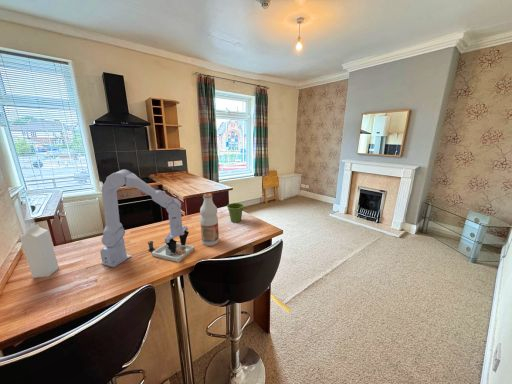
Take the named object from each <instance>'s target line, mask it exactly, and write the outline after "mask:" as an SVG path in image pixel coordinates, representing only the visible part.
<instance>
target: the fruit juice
mask: <svg viewBox="0 0 512 384" xmlns="http://www.w3.org/2000/svg"><path fill="white" fill-rule="evenodd" d="M202 198H203V202H202V205H201V206H200V209H199V212H200V215H201V216H200V232H201V233H200V234H201V243H202V244H203V245H204V246H209V247H211V246H215V245H217V244H218V243H219V238H220V236H219V219H218V215H217V213H218V207H217V206H216V205H215V203H214V201H213V194H212V193H204V194H203V195H202Z"/></svg>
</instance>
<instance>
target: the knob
mask: <svg viewBox="0 0 512 384" xmlns="http://www.w3.org/2000/svg"><path fill="white" fill-rule="evenodd" d="M147 244H148V248H149V249H148V252H150V253H152V252H153V251H155V250H156V249H155V248H154V241H153V240H150V241H148V242H147Z"/></svg>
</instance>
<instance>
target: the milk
mask: <svg viewBox="0 0 512 384" xmlns="http://www.w3.org/2000/svg"><path fill="white" fill-rule="evenodd" d="M25 233H26V234H24V235H22V236H20V237H19V240H20V243H21V246H22V249H23V252H24V255H25V258H26V260H27V264H28V267H29V270H30V273H31V276H32V278H34V279H35V278H36V279H37V278H49V277H50V276H51V275H53V274H54V273H56V271H57V270H58V269H60V266H59V263H58V259H57V257H56V252H55V248H54V245H53V243H52V239H51V235H50V232H49V230H48V229H46V228H43V227H40V224H38V223H37V224H35V225H33V226H30V227H28V228H27V229H26V230H25Z"/></svg>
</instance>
